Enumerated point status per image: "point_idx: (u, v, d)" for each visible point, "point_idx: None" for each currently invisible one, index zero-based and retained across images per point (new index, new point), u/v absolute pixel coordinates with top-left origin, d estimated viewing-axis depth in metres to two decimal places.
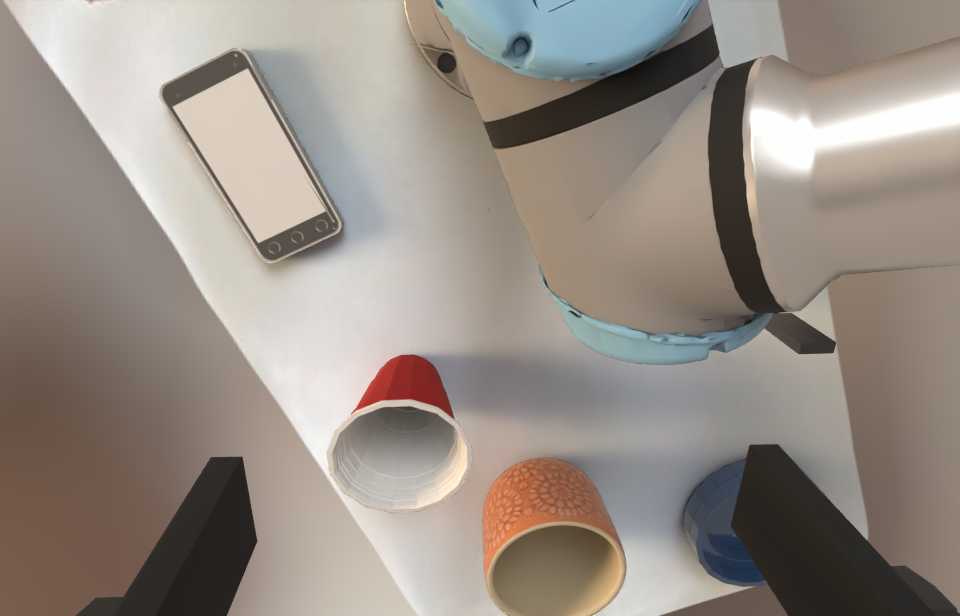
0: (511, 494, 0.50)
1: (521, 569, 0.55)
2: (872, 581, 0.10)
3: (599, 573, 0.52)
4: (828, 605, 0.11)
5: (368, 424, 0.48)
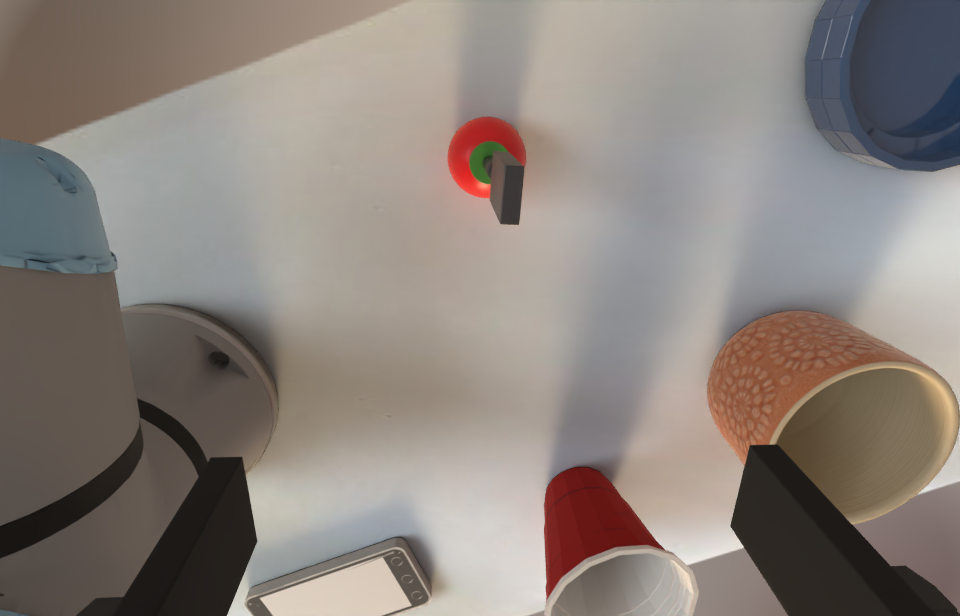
0: (733, 448, 0.39)
1: (864, 423, 0.41)
2: (872, 581, 0.10)
3: None
4: (829, 604, 0.11)
5: (603, 568, 0.44)
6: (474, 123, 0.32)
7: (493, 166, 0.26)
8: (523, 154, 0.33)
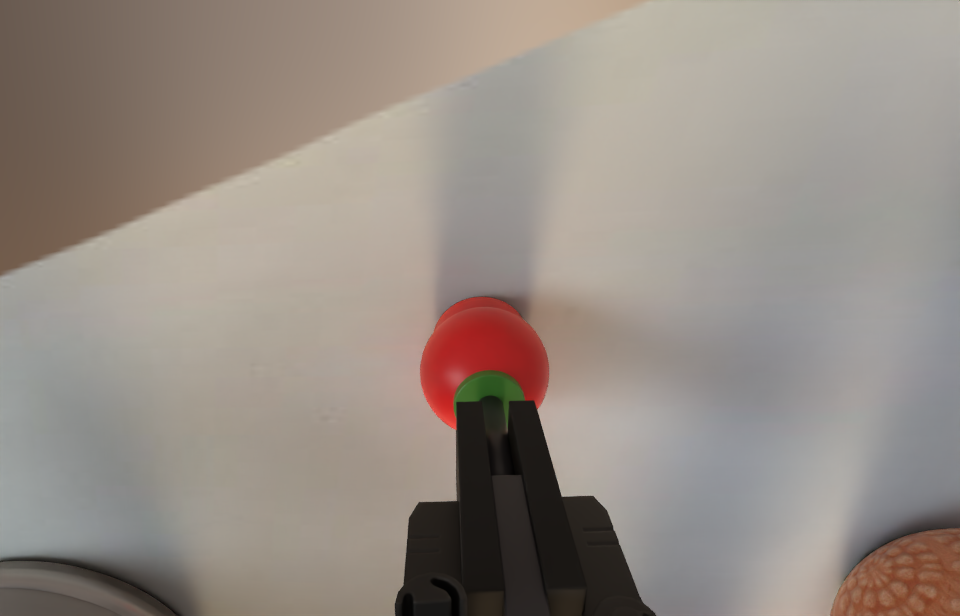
0: None
1: None
2: (536, 502, 0.12)
3: None
4: None
5: None
6: (460, 330, 0.19)
7: None
8: (545, 373, 0.20)
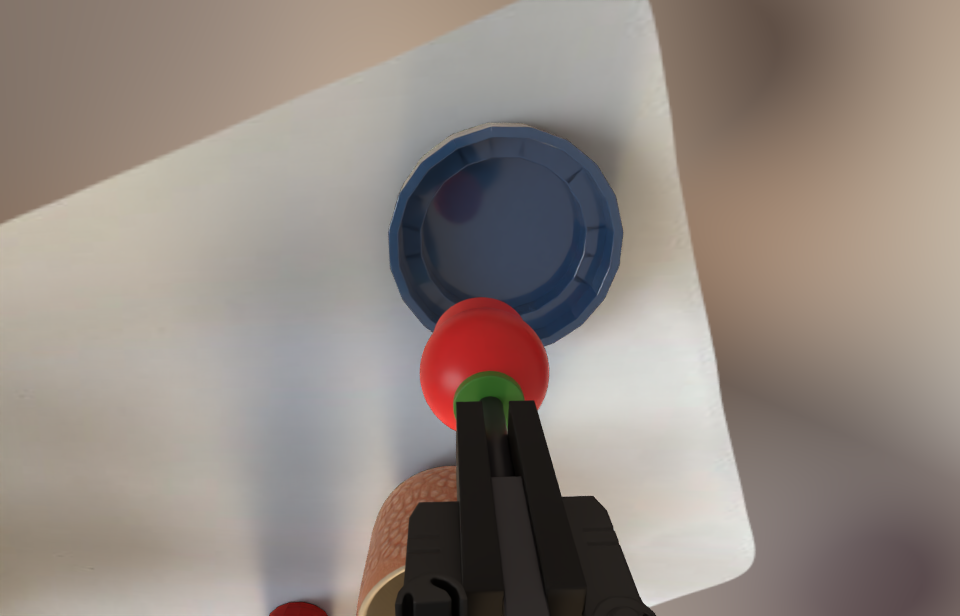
0: None
1: None
2: (535, 502, 0.12)
3: None
4: None
5: None
6: (460, 330, 0.19)
7: None
8: (545, 374, 0.20)
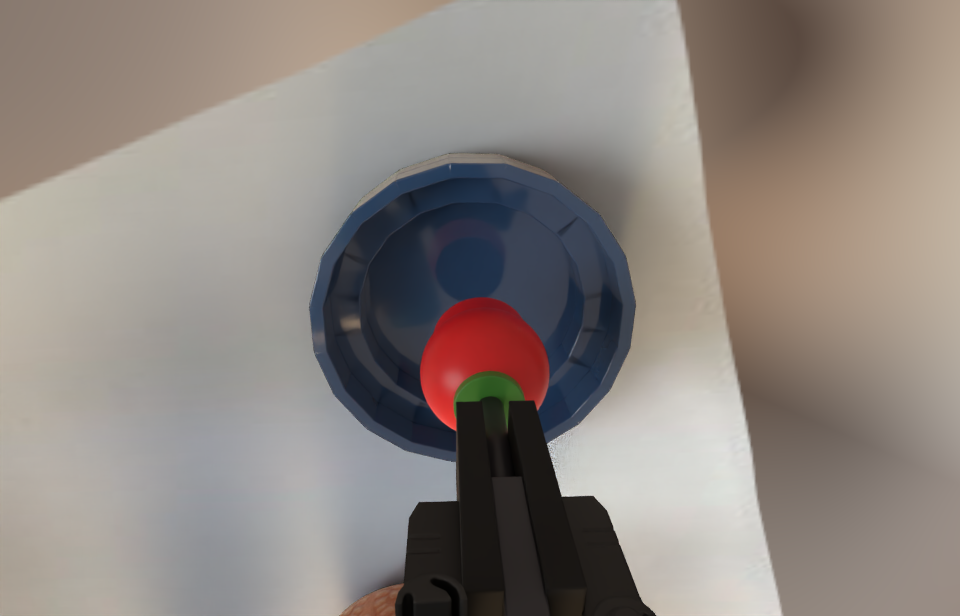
0: None
1: None
2: (535, 502, 0.12)
3: None
4: None
5: None
6: (460, 330, 0.19)
7: None
8: (545, 374, 0.19)
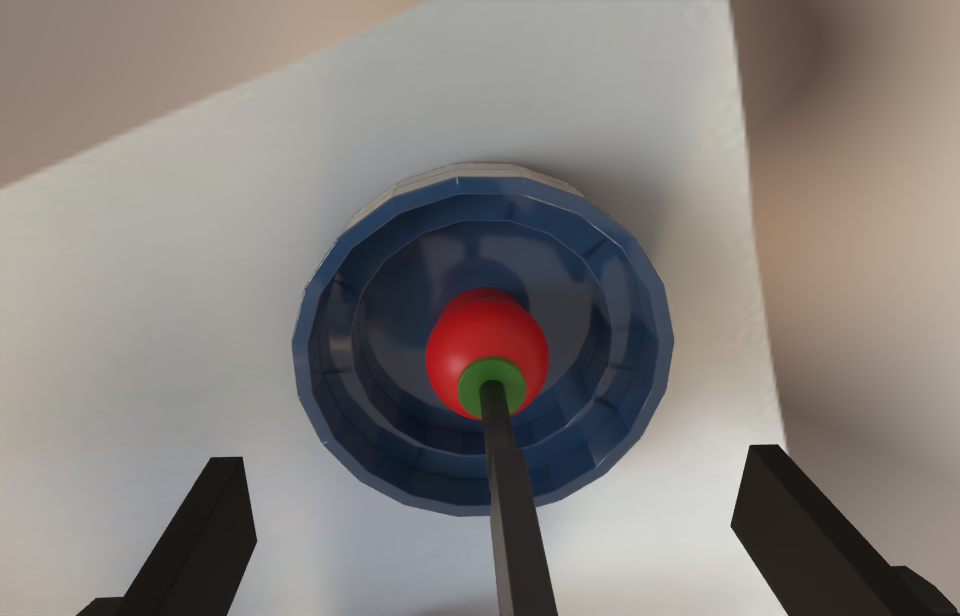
0: None
1: None
2: (872, 581, 0.10)
3: None
4: (828, 605, 0.11)
5: None
6: (464, 318, 0.20)
7: (494, 488, 0.14)
8: (545, 359, 0.20)
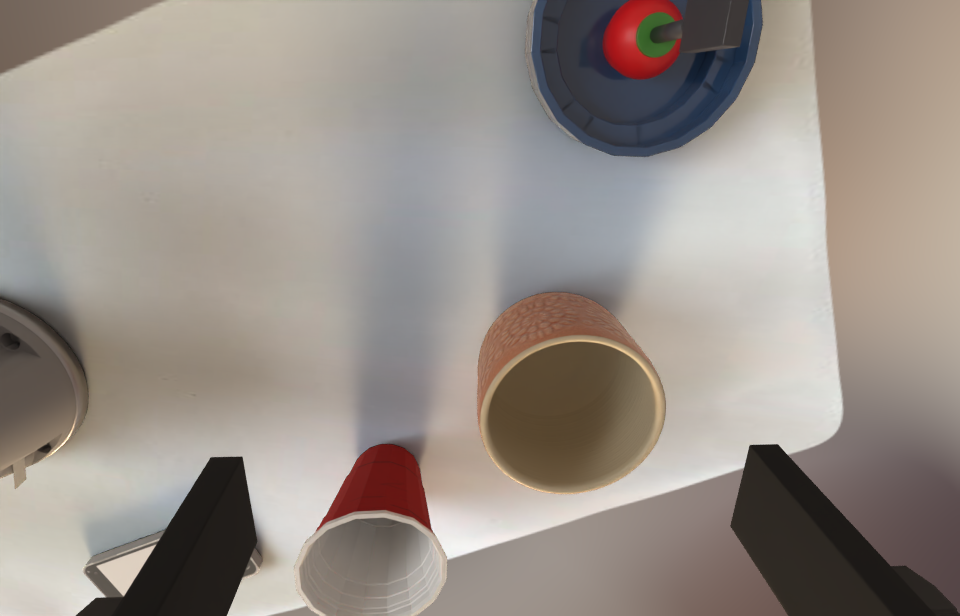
0: None
1: (626, 399, 0.43)
2: (872, 581, 0.10)
3: None
4: (828, 605, 0.11)
5: (398, 538, 0.47)
6: None
7: (690, 11, 0.27)
8: None
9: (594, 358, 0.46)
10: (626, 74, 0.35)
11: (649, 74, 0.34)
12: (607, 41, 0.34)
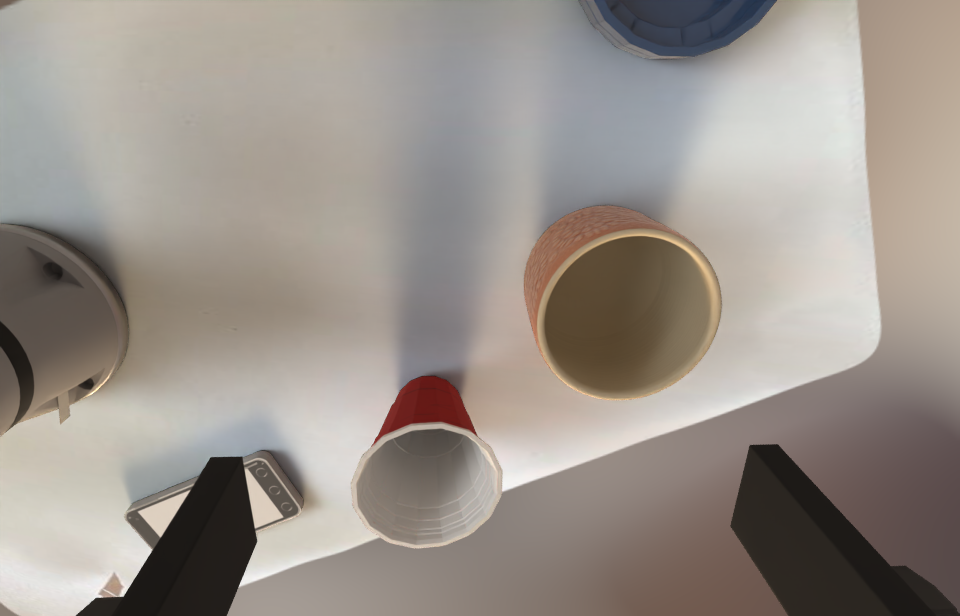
0: None
1: (673, 313, 0.43)
2: (872, 581, 0.10)
3: None
4: (828, 605, 0.11)
5: (444, 466, 0.47)
6: None
7: None
8: None
9: (636, 278, 0.46)
10: None
11: None
12: None
